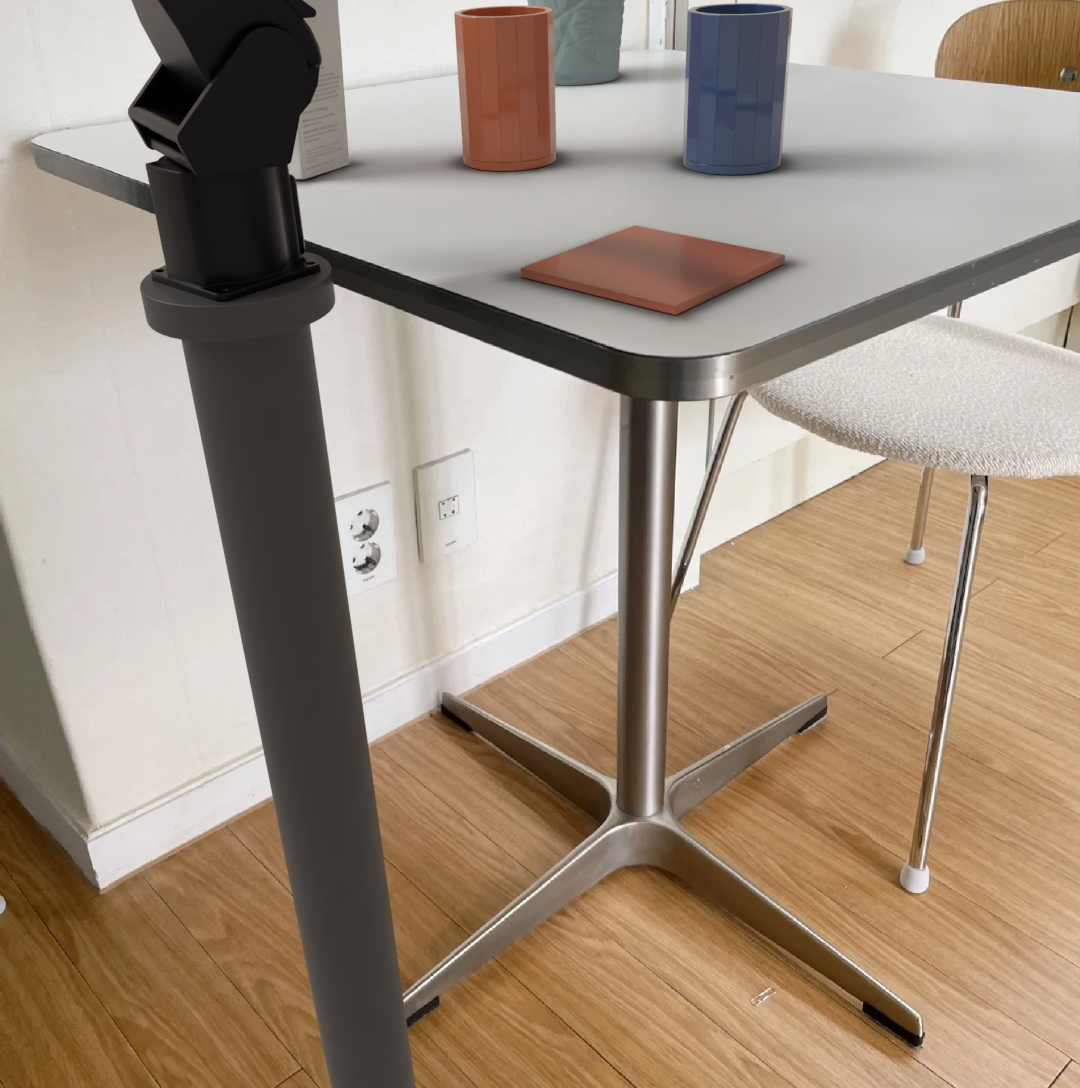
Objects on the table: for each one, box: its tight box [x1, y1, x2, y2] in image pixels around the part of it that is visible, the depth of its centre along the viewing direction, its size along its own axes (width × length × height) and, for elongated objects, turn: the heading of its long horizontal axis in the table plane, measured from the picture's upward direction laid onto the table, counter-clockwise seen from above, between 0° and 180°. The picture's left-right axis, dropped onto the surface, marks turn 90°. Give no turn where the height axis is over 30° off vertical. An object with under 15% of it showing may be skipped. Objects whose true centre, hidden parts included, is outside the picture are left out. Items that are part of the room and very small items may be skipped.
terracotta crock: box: [453, 5, 557, 172], centre depth 82 cm, size 7×7×10 cm
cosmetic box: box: [288, 0, 350, 180], centre depth 80 cm, size 8×6×15 cm
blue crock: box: [682, 2, 794, 176], centre depth 79 cm, size 7×7×10 cm
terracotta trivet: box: [519, 225, 786, 316], centre depth 61 cm, size 10×10×1 cm
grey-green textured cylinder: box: [526, 0, 626, 86], centre depth 112 cm, size 10×10×12 cm
